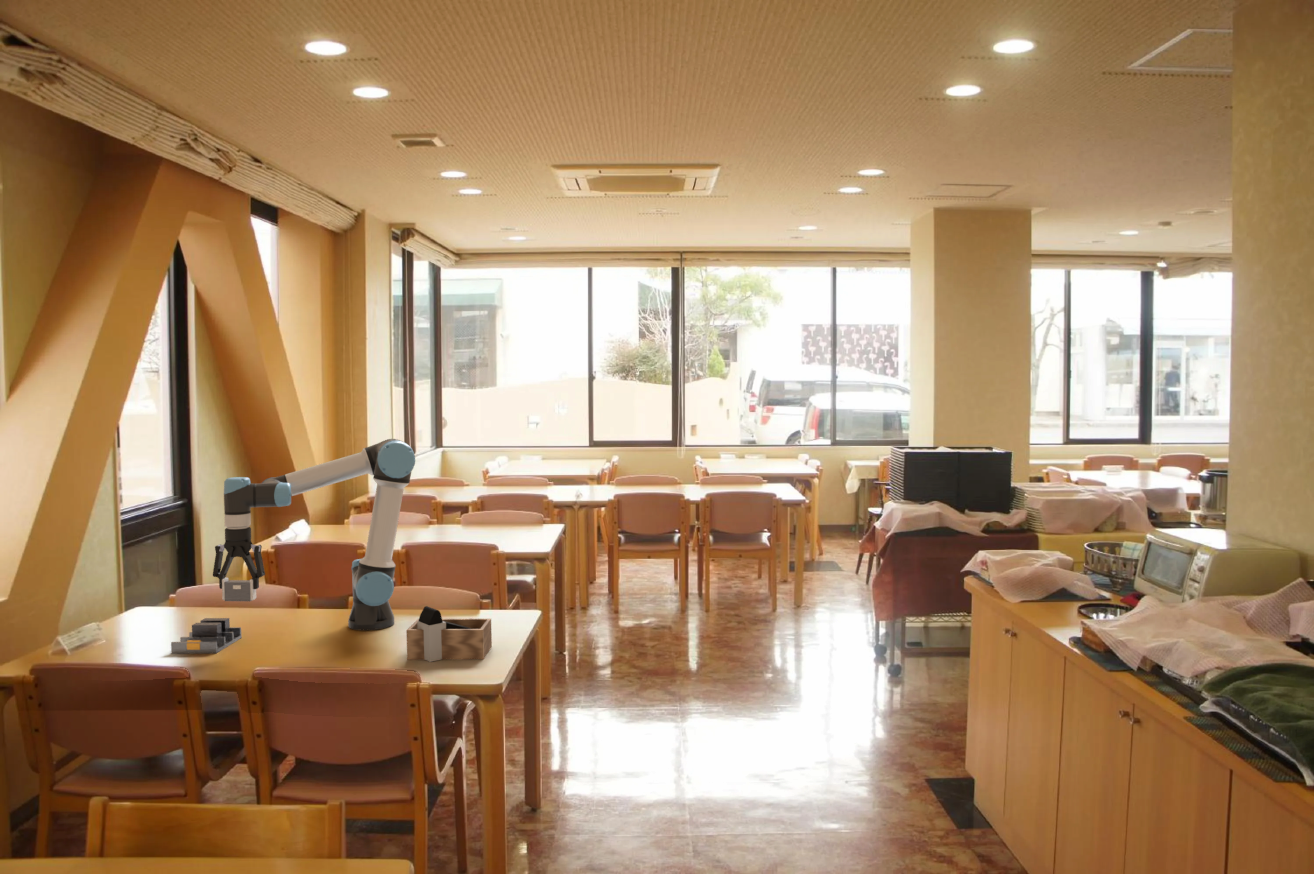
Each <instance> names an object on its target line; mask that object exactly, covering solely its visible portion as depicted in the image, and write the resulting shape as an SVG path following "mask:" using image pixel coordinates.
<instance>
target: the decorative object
mask: <svg viewBox="0 0 1314 874" xmlns="http://www.w3.org/2000/svg"><path fill="white" fill-rule="evenodd" d="M418 619H419V621H417V629H422V630H424V659H425V661H427V662H430V663H431V662H435V661H439V660H443V659H442V643H441V630H444V629H472V628H469V627H465V626H462V625H458V624H454V623H450V622H446V621H442V619H443V617H442V613H441V612H440V610H438V609H436V608H433V607H430V606H428V605H426V606H424V607H423V609H422V611H421V612H420V615H419V618H418Z"/></svg>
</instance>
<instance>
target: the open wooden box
mask: <svg viewBox="0 0 1314 874" xmlns="http://www.w3.org/2000/svg"><path fill="white" fill-rule="evenodd" d="M417 621H419V618H417V619H416V620H415V621H414V622H413V623H412V624H411V625H410V626H409V627H408V628H407V629H406V631H405V632H406V659H407V660H410V661H411V660H416V661H417V660H418V661H419V660H425V659H424V630H422V629H417ZM442 621H446V622H450V623H454V624H458V625H462V626H465V627H469V628H472V629H444V630H441V643H442V659H441V660H484V659H485V658H486V656H487V655H488V654H489V652H490V650H491V649H492V647H493V646H492V644H493V639H492V634H493V633H492V618H442ZM425 661H426V660H425Z"/></svg>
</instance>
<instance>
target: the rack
mask: <svg viewBox="0 0 1314 874" xmlns="http://www.w3.org/2000/svg"><path fill="white" fill-rule="evenodd" d="M199 621H200V622H195V623H193V624H191V631H190V632H189V633H188V636H180V639H179V640H180V641H170V646H171V647H170V649H171V651H170V653H171V654H175V655H177V654H193V655H194V654H218V653H220V652H221V651H223V650H224V649H226V648H228V647H229V646H231V645H232V644H234V643H235V642H237V641H239V640H240V639H242V627H241V626H240V627H239V626H237V627H236V626H233V627H232V626H231V627H230V625H231V624H230V622H231V621H230V618H229V617H212V618H210V617H208V618H207V617H206V618H205V617H204V618H203V619H200V620H199Z"/></svg>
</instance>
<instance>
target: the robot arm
mask: <svg viewBox="0 0 1314 874" xmlns="http://www.w3.org/2000/svg"><path fill="white" fill-rule="evenodd" d="M415 464H416V454H415V452H414V450H413V448H412V446H410V445H409V444H408V443H406V442H405V441H402V440H400V439H398V438H388V439H385V440H383V441H380V442H377V443H375V444H373V445H370V446H366V447H363V448H362V451H361V452H358V453H353V454H351V455H350V454H349V455H346V456H344V457H343V456H342V457H341V458H336V459H334V460H330V461H327V462H323V463H319V464H316V465H313V466H309V467H305V468H302V469H299V470H296V471H292V472H289V473H286V474H283V475H278V476H276V477H274V476H273V477H269V478H266V479H264V480H263V481H262V482H260V483H253V482H252V481H251V479H250V477H247V476H246V477H245V476H238V477H237V476H234V477H227V478H226V479H225V480H223V507H224V527H225V529H224V544H218V545H215V546H214V551H215V557H214V562H213V563H214V564H213V569H212V571H213V572H212V577H214V578H218V581H219V583H218V584H219V589H220V590H221V591H222V592H221V593H222V594H221V599H222V601H225V592H224V582H226V581H228V580H229V577H227V574H228V572H229V570H230V568H231V564H232V562H233V561H234V558H236V557H237V558H241V559H242V561H244V563H245V565H246V567H247V570H248V571H249V573H250V576H251V579H249V580H250V600H252V601H254V600H256V599H257V590H258V589H259V587H260V578H262V577H264V576H266V572H265V567H264V560H263V556H262V548H263V547H262V545H261V544H253V542H252V527H251V526H252V513H251V512H252V511H251V508H272V507H275V508H276V507H278V508H281V507H286V506H287V507H290V506H291V504H292V497H293V496H298V495H302V494H303V493H307V492H310V491H314V490H317V489H320V488H324V487H326V486H330V485H334V484H336V483H341V482H344V481H348V480H350V479H354V478H357V477H361V476H365V475H367V474H368V475H371V476H373V478H372V480H374V482H375V484H376V488H375V489H376V490H375V495H374V501H373V507H372V513H371V519H370V526H369V529H368V530H369V531H368V537H367V543H366V549H365V554H364V556H363V557H362V558H359V559H358V558H357V559H354V560H353V561H352V562H351V576H352V580H351V581H352V583H351V584H352V607H351V610H350V614H349V617H348V619H347V620H348V621H347V622H348V623H347V624H348V628H349V629H351V630H355V631H375V630H381V629H386V628H389V627H392V626H393V625H395V615H394V612H393V610H392V607H391V604H390V598H392V596H393V593H394V590H395V584H394V578H395V571H396V563H395V562H394V560H393V556H394V555H393V554H394V547H395V542H396V536H397V530H398V525H399V518H400V513H401V508H402V502H403V501H402V500H403V495H404V490H405V487H407V486H408V485H410V482H411V475H412V471H413V470H414V468H415ZM251 482H252V483H251ZM225 550H226V551H227V554H226V557H225V560H224V563H223V557H224V551H225ZM251 550H252V552H253V557H254V560H253V557H252V554H251V552H250V551H251ZM254 561H255V563H254ZM222 563H223V565H222Z"/></svg>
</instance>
